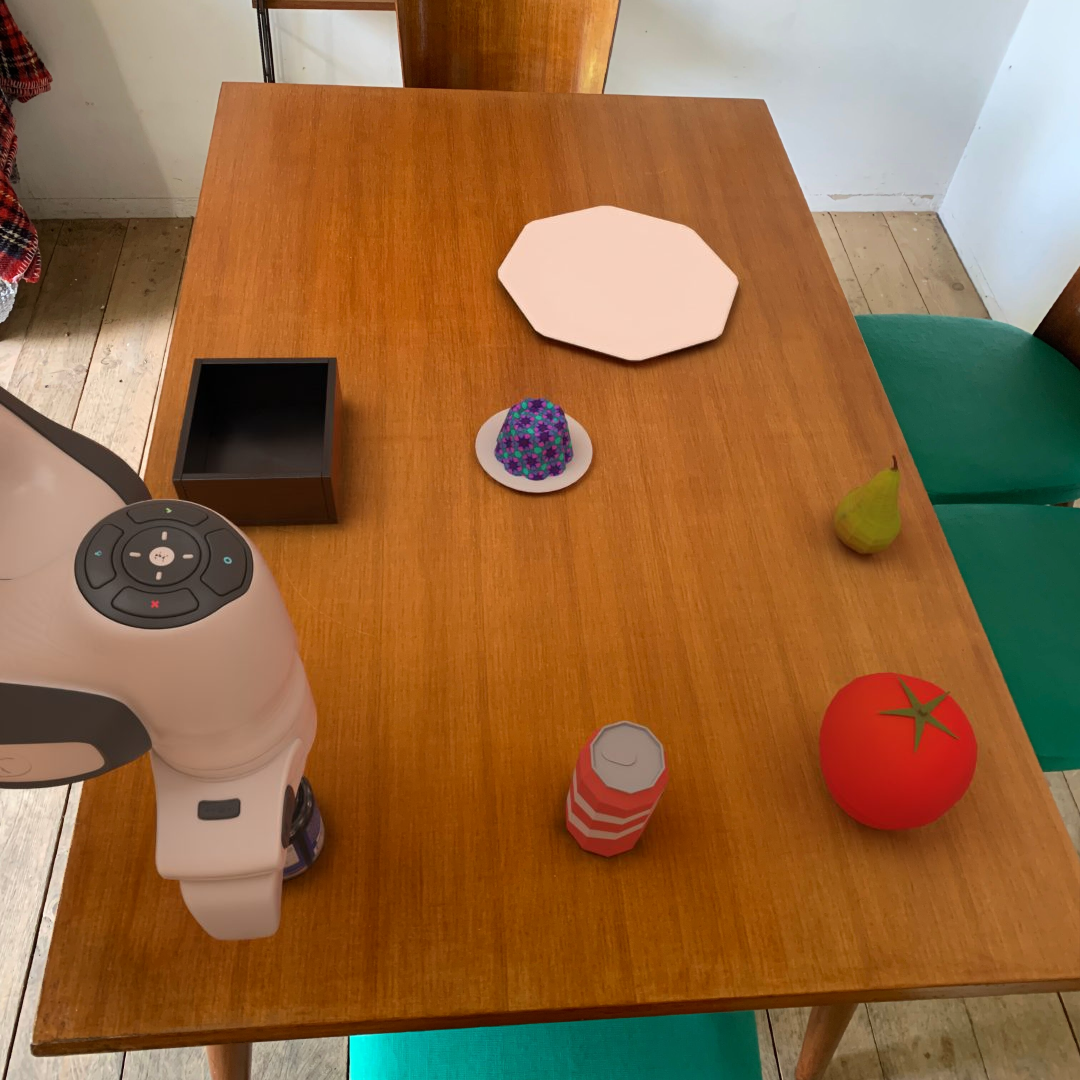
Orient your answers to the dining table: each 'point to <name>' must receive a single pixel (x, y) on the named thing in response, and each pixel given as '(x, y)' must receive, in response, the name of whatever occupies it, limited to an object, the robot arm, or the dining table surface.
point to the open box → (262, 440)
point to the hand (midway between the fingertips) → (275, 804)
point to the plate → (618, 283)
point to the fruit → (870, 513)
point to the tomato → (896, 751)
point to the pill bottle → (304, 833)
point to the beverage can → (615, 787)
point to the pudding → (534, 447)
